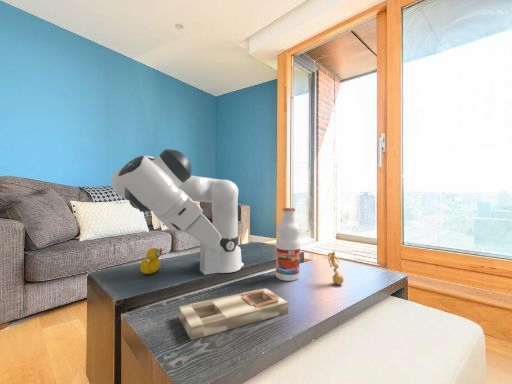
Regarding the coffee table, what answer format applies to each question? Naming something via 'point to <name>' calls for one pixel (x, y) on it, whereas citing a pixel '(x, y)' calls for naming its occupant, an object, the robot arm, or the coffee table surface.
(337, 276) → the figurine
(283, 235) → the fruit juice
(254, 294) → the beige flat wooden block
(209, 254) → the steel peg
